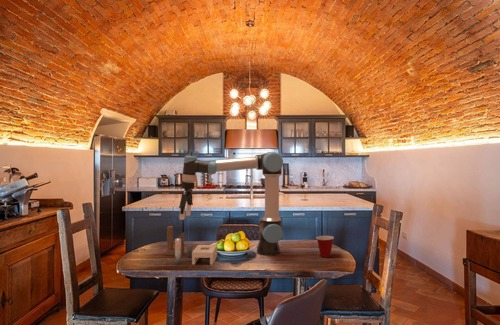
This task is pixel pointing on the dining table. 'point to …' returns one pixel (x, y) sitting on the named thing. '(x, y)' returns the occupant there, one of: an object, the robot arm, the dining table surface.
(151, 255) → the dining table surface
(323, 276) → the dining table surface
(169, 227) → the brown wooden bracket
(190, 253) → the short charcoal pin
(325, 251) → the plastic cup
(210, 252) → the bridge
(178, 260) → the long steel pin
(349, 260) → the dining table surface
